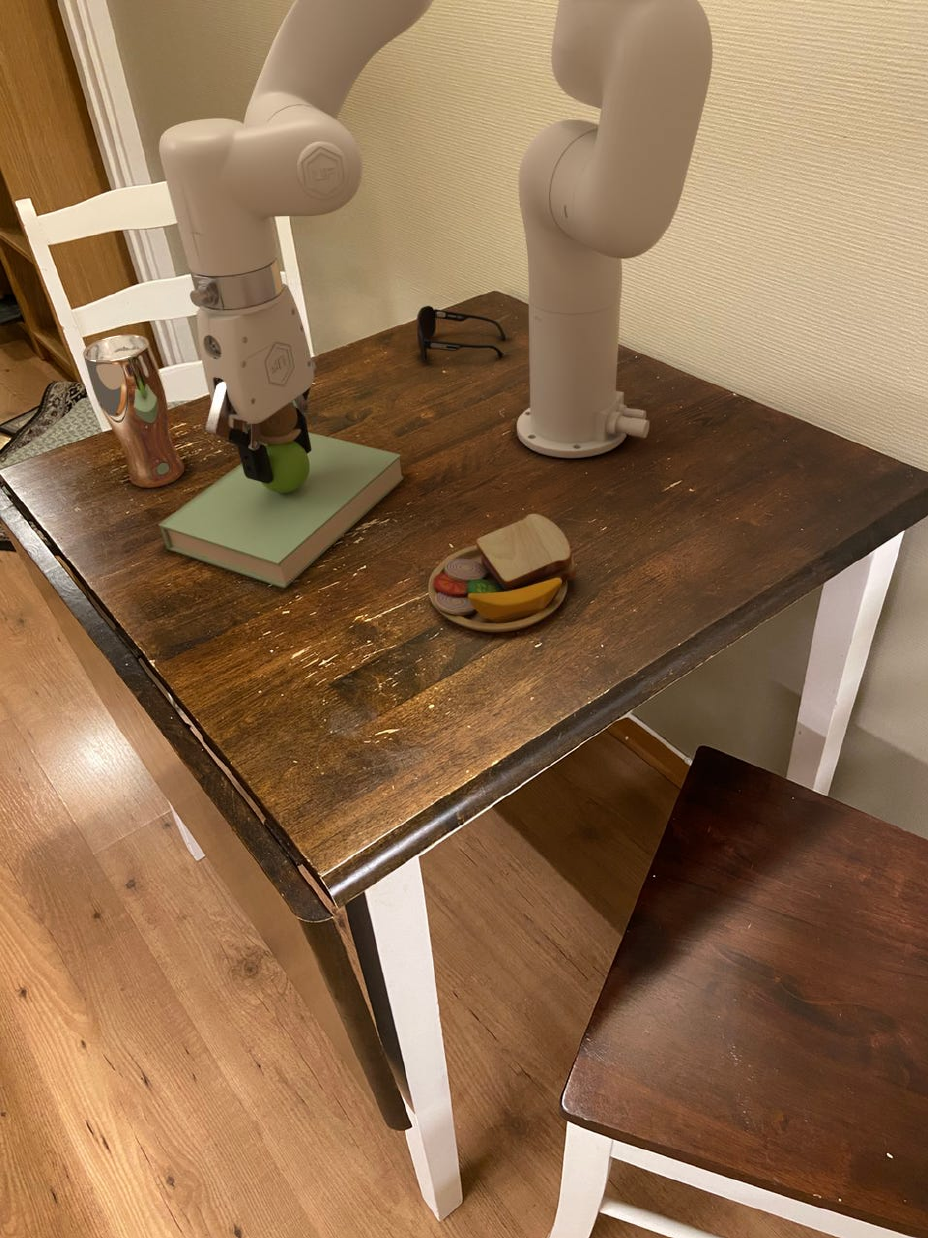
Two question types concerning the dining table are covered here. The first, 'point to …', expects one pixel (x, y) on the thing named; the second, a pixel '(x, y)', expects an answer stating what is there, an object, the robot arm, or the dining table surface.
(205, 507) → the book
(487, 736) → the dining table surface
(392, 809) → the dining table surface
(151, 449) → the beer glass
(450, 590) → the toy sandwich meal
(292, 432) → the snail figurine
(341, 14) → the robot arm
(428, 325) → the sunglasses
